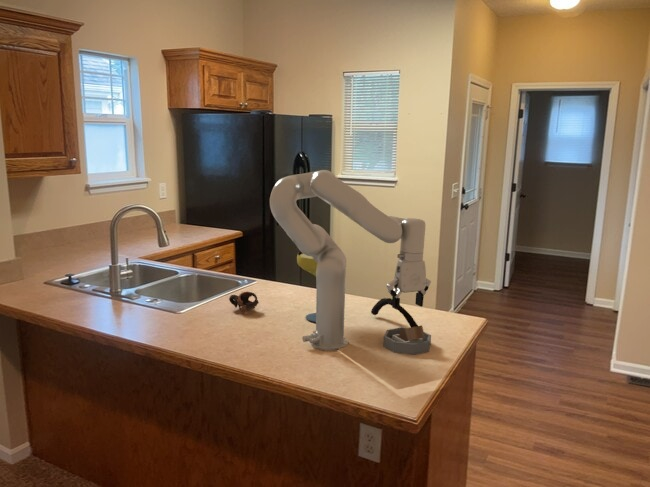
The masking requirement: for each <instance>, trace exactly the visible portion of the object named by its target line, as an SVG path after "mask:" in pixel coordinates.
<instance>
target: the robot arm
mask: <svg viewBox="0 0 650 487" xmlns="http://www.w3.org/2000/svg"><path fill="white" fill-rule="evenodd" d="M315 197H318V198H319V199H321V200H322V201H324V202H325V203H326V204H328V205H330V206H331V207H333V208H334V209H336V210H337V211H338V212H340V213H342V214H343V215H345V216H346V217H347V218H348V219H350V220H351V221H352V222H354V223H355V224H357V225H358V226H360V227H362V228H363V229H364V230H366V232H368V233H370V234H371V235H372V236H374V237H376V238H377V239H379V240H380V241H382V242H384V243H387V244H395V243H397V242H398V241H400V246H399V248H400V249H399V253H398V254H396V256H397V258H398V260H397V263H396V267H395V272H394V279H393V280H391V281H390V282H388V283H387V284H386V288H387V291H388V293H389V294H390V296H391V299H392V306H391V307H392V309H395V310H396V311H398V310H399V306H401V304H400V303H401V298H400V296H401V294H402V293H405V294H406V293H415V292H416V294H415V305H417V306H419V307H421V308H423V306H424V297H425V295H426V293H427V291H428V290H429V287H430V285H431V283H432V281H431V280H430V279H428V278H427V270H426V263H425V260H424V250H425V235H426V222H425V221H424V220H423V219H420V218H411V217H410V218H409V217H408V218H403V217H402V218H401V217H398V216H393V215H391V216H390V215H387V214H385V213H384V212H382V211H381V210H380V209H378V208H377V207H376V206H374V205H373V204H372V203H371V202H370V201H369V200H368V199H367V197H365V196H364V195H363V194H362V193H360V192H359V190H356V189H355V188H353V187H352V186H350V185H348V184H347V183H345V182H344V181H343V180H341V179H340V178H338V177H336V176H335V173H333V172H332V171H330V170H328V169H321V170H316V171H311V172H310V171H309V172H305V173H299V174H292V175H287V176H285V177H281V178H280V179H278V181H276V183H275V184H274V186H273V187H272V189H271V193H270V197H269V208H270V211H271V214H272V216H273V218H274V220H275V221H276V222H277V223H278V225H279V226H280V227H281V228H282V229H283V231H284V232H285V233H286V235H287V236H288V237H289V238H290V240H291V241H292V242H293V244H294V245H295V246H296V247H297V249H298V250H299V251H300V252H302V253H303V254H305V255H307V256H312V257H313V259H314V260H315V261H316V262H317V268H316V277H315V278H316V281H315V283H316V290H315V291H316V293H315V294H316V295H315V296H316V303H315V304H316V305H315V310H316V312H315V313H316V322H315V330H313V331H312V333H310V335H303V336H302V342H303V343H306V342H309V344H311V346H312V347H314V348H315V349H317V350H321V351H327V352H328V351H330V352H331V351H334V352H335V351H339V350H340V349H342V348H346V346H348V345H349V340H348V339H347V338H346V337H344V336H345V333H344V332H345V308H346V307H345V306H346V304H345V303H346V302H345V300H346V299H345V298H346V277H347V276H346V275H347V273H346V272H347V269H346V268H347V257H346V255H345V253H344V251H343V250H342V249H341V247H339V246H338V244H337V243H336V242H335V240H333V238H332V237H331V236H330V235H329V233H328V232H327V231H326V230H325V228H324V227H322V226H320V225H319V224H315V223H312V221H311V220H310V219H309V218H308V217H307V216H306V214H305V213H304V211H302V210H301V209H300V208H299V207H298V203H297V201H298V200H301V199H309V198H315Z"/></svg>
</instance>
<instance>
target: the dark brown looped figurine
mask: <svg viewBox="0 0 650 487" xmlns="http://www.w3.org/2000/svg"><path fill="white" fill-rule="evenodd" d="M251 297H253V298H254V301H252V300H249V299H250V298H251ZM228 300H229V302H230V304H231V305H233V306H234V307H235V308H239V309H240V308H241V309H240V312H241V313H242V314H245V313H246V312H248V311H250V310H253V309H255V308H256V307H257V305H258V304H259V303H260V302H259V300H258V296H257V295H256V293H254V292H253V291H242V292H241V293H239V295H238V294H237V295H236V294H231V295H230V296H229V298H228ZM235 308H234V309H235Z"/></svg>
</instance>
